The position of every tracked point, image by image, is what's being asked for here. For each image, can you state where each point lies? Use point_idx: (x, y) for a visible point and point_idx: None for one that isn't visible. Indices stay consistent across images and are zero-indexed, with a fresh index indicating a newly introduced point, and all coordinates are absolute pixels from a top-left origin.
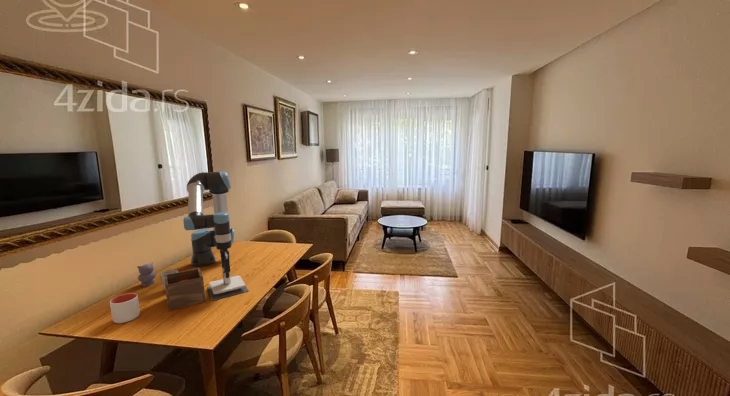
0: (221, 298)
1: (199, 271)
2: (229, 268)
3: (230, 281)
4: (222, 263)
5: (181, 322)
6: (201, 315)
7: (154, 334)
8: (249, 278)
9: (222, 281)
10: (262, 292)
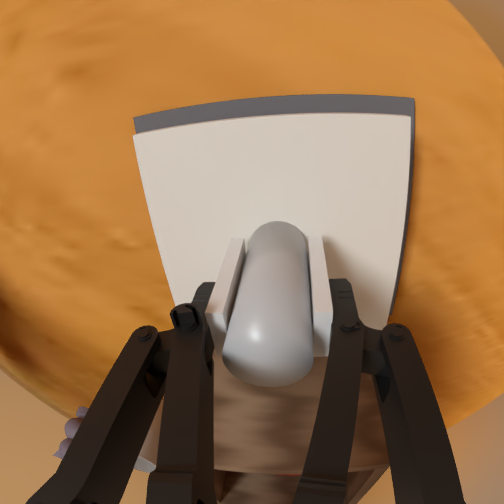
0: (398, 273)
1: (247, 470)
2: (419, 366)
3: (321, 240)
4: (212, 423)
5: (461, 385)
6: (476, 344)
7: (457, 416)
8: (143, 52)
9: (212, 271)
10: (476, 34)
